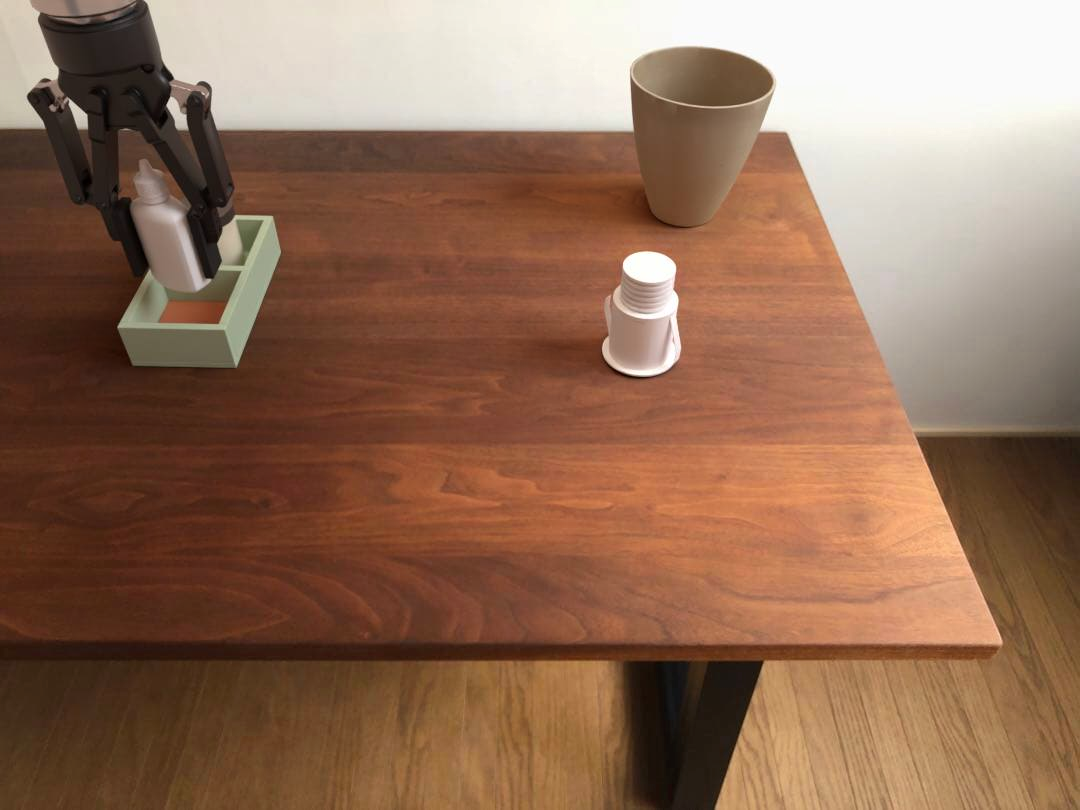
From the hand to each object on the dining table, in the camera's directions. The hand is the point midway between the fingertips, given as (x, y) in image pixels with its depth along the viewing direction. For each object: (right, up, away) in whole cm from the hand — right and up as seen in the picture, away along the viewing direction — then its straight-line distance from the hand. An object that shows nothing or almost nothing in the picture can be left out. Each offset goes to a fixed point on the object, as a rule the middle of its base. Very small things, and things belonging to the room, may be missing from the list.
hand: (178, 268), depth 80 cm
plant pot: (+49, +10, +22) cm, 55 cm away
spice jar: (0, +1, +11) cm, 11 cm away
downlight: (+42, -8, +4) cm, 43 cm away
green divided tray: (0, -2, +8) cm, 9 cm away
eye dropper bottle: (0, -1, +1) cm, 2 cm away
